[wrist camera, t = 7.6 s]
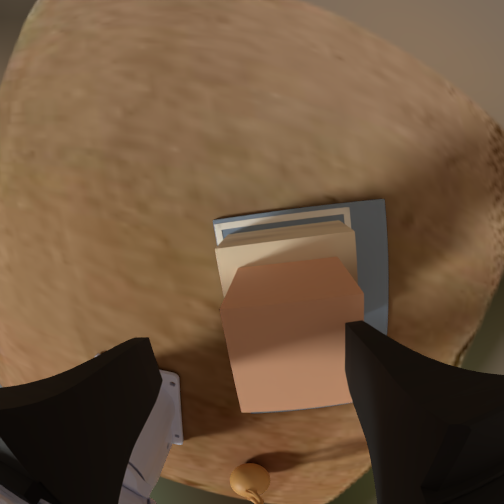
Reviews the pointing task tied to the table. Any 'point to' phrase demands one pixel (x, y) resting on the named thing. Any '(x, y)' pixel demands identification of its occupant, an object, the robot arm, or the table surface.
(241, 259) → the maple base block
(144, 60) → the table surface
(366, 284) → the mat
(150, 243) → the table surface
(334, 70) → the table surface
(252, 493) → the figurine
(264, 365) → the terracotta cube
